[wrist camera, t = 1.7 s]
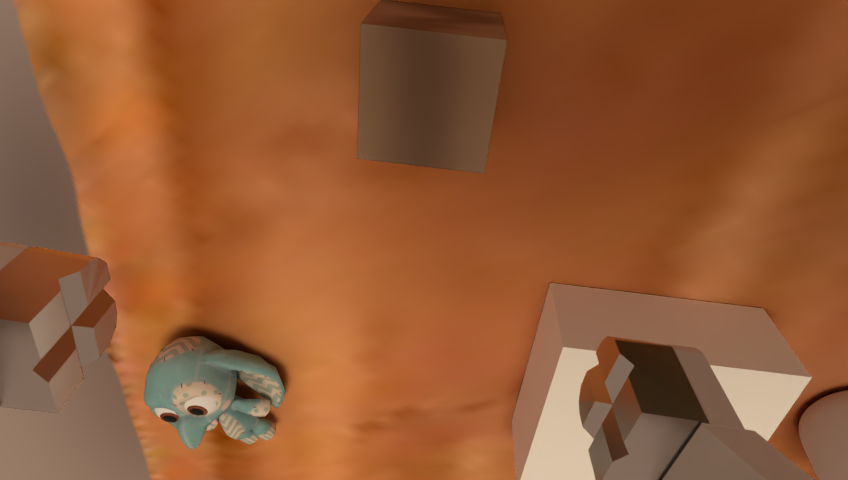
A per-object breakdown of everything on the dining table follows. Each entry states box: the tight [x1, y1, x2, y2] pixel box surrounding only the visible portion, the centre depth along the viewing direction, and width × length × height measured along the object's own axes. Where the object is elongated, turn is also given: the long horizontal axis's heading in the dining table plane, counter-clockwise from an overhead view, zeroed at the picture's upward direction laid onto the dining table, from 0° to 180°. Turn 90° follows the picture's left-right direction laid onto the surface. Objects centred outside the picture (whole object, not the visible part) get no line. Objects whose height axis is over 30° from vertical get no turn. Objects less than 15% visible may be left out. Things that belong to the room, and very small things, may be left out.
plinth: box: [512, 283, 812, 480], centre depth 37 cm, size 14×14×6 cm
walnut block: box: [357, 0, 507, 173], centre depth 26 cm, size 6×6×6 cm
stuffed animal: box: [144, 336, 285, 449], centre depth 40 cm, size 11×7×12 cm
